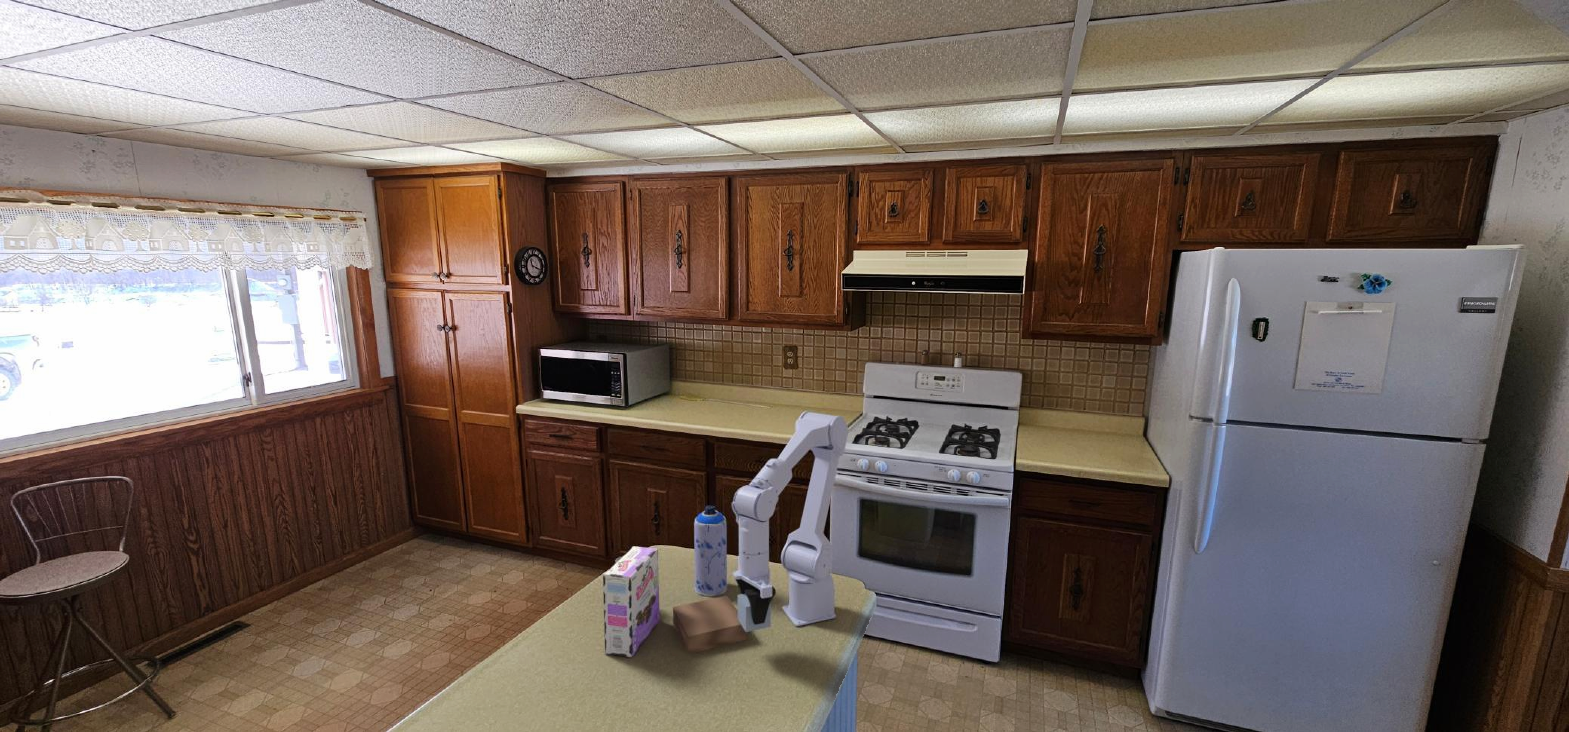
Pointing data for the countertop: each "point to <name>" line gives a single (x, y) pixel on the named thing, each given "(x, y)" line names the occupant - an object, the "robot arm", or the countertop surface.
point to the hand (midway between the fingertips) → (754, 615)
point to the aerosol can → (710, 552)
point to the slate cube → (746, 616)
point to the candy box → (631, 601)
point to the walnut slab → (708, 624)
